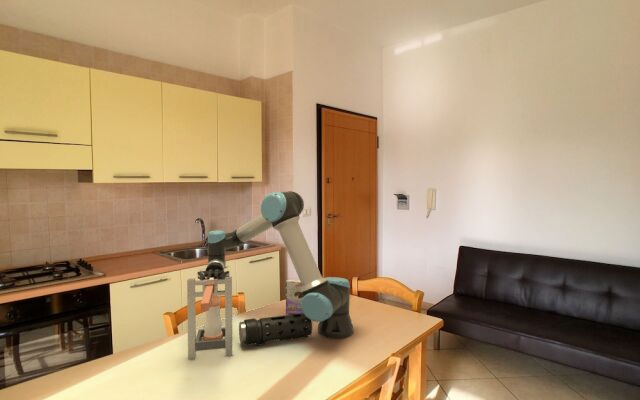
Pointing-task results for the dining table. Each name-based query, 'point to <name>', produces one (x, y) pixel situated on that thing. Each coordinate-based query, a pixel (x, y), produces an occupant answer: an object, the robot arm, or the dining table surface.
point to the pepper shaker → (213, 320)
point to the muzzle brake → (274, 329)
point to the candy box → (293, 296)
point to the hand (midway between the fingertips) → (210, 286)
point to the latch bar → (207, 297)
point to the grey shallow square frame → (209, 341)
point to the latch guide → (192, 315)
